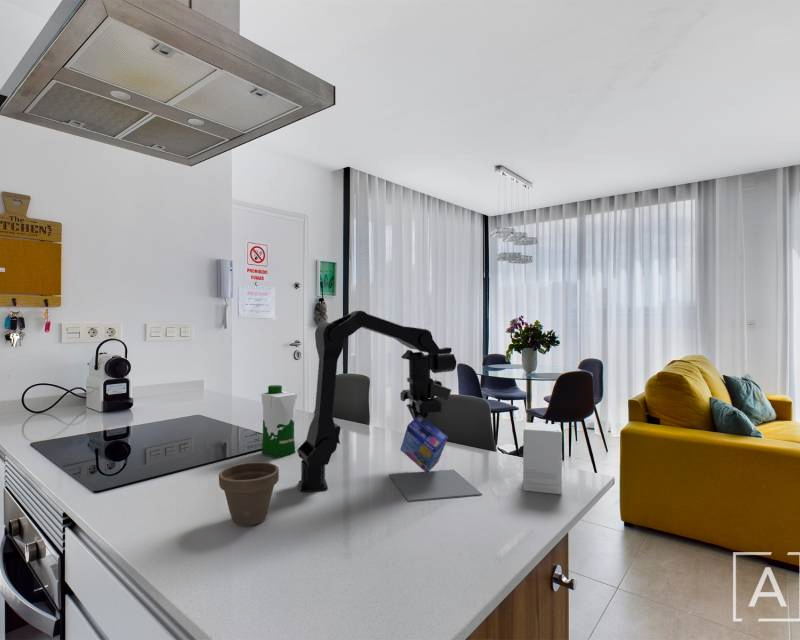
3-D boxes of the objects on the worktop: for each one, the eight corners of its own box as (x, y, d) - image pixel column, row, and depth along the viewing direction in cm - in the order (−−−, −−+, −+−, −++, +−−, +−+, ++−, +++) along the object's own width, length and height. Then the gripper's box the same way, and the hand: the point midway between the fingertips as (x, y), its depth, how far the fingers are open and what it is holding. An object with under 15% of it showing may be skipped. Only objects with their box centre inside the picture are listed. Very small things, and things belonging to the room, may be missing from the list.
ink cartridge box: (398, 450, 127) (408, 419, 117) (411, 438, 130) (421, 407, 121) (426, 474, 123) (438, 444, 113) (438, 461, 127) (451, 430, 117)
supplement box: (559, 482, 119) (560, 423, 118) (562, 495, 110) (563, 431, 110) (522, 478, 121) (523, 421, 121) (522, 490, 112) (523, 428, 112)
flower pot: (215, 536, 87) (215, 482, 87) (220, 511, 98) (221, 463, 98) (279, 529, 90) (279, 477, 90) (277, 506, 101) (278, 459, 101)
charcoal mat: (481, 495, 109) (481, 493, 109) (408, 501, 104) (408, 500, 104) (453, 470, 126) (453, 469, 126) (389, 475, 122) (389, 474, 122)
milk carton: (280, 447, 146) (281, 383, 146) (300, 452, 141) (301, 386, 141) (257, 453, 139) (258, 386, 139) (276, 459, 134) (277, 390, 134)
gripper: (460, 377, 120) (461, 437, 120) (435, 368, 138) (436, 420, 138) (419, 380, 117) (420, 442, 117) (399, 370, 135) (400, 424, 135)
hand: (420, 431), depth 127 cm, fingers closed
